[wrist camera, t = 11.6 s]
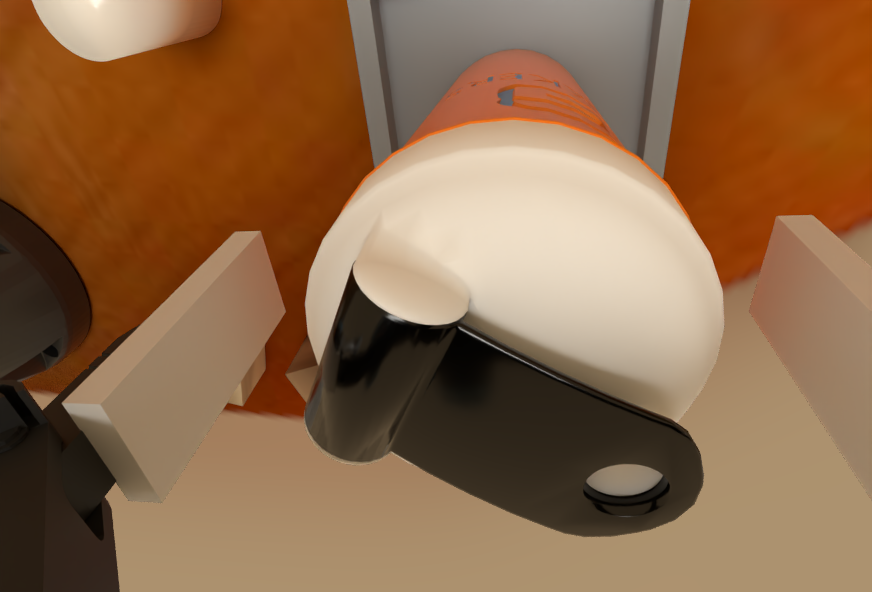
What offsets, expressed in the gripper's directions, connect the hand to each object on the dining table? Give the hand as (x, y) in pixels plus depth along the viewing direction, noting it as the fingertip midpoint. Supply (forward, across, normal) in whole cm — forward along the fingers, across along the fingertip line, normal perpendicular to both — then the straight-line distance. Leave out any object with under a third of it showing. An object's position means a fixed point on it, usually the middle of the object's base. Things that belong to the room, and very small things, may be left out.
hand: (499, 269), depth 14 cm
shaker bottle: (+14, 0, 0) cm, 14 cm away
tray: (+15, 0, 0) cm, 15 cm away
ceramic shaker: (+15, -16, +7) cm, 23 cm away
